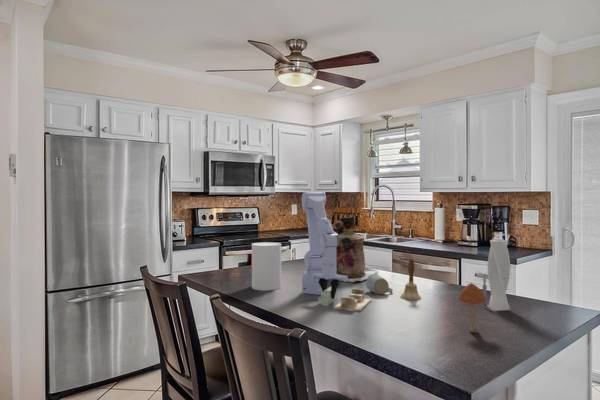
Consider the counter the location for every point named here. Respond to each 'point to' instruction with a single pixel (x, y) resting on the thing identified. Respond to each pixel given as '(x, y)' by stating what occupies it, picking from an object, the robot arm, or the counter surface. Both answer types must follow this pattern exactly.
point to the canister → (266, 266)
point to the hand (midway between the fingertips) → (329, 298)
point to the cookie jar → (350, 252)
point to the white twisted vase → (497, 275)
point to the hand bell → (411, 285)
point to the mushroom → (472, 303)
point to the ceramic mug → (377, 284)
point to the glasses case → (327, 297)
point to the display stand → (353, 301)
